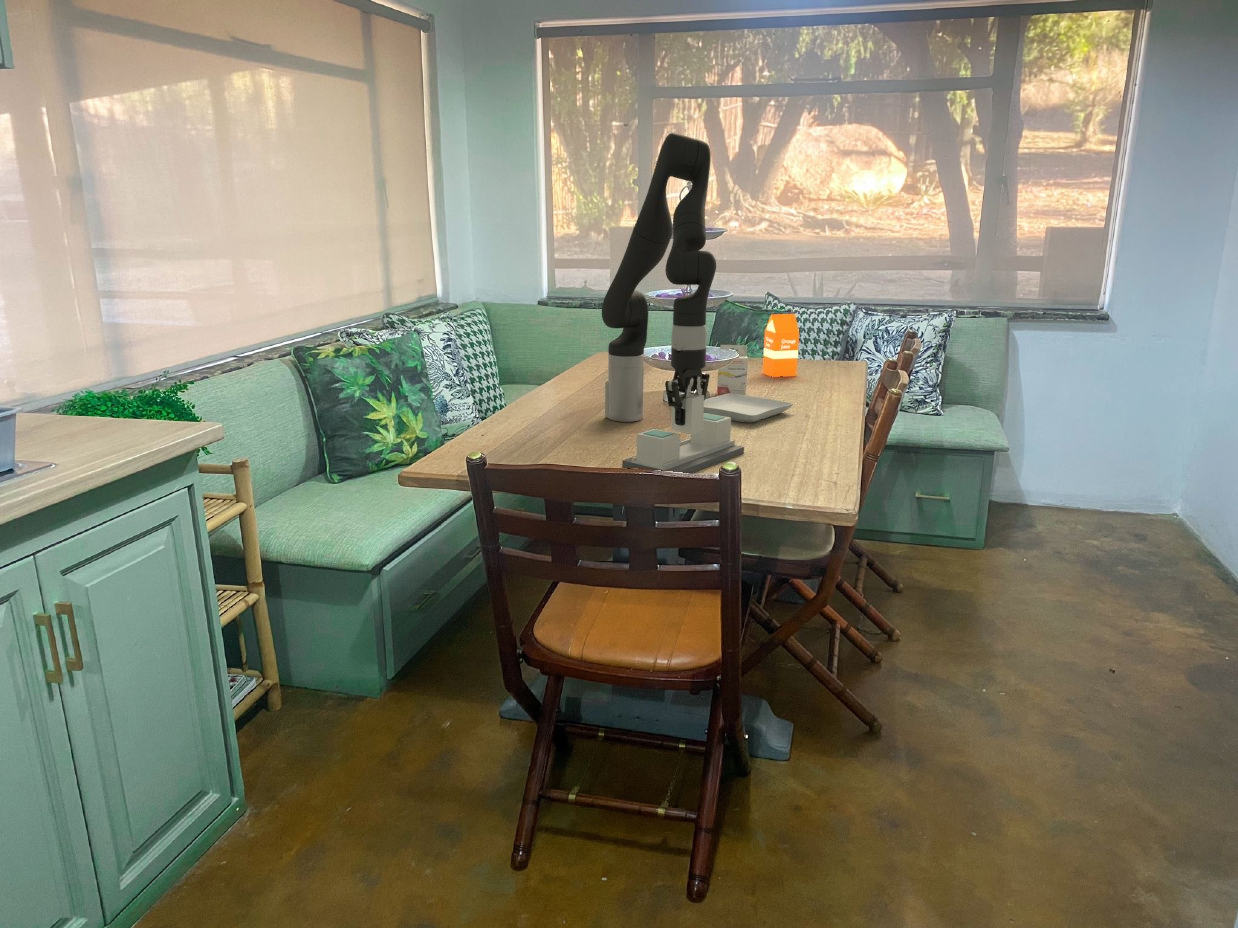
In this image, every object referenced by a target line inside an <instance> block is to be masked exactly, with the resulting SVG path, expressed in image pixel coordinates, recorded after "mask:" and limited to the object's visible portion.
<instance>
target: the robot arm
mask: <svg viewBox="0 0 1238 928" xmlns="http://www.w3.org/2000/svg"><path fill="white" fill-rule="evenodd" d="M711 153H712V152H711V147H710V145H709V143H707V142H705V141H703V140H701V139H698V138H694V137H690V136H688V135H685V134H680V133H676V132H671V133H669V134H668V135H667V136H666V137H665V139H664V140H663V142H662V145H661V147H660V150H659V153H658V156H657V159H656V163H655V167H654V169H653V173H652V177H651V180H650V183H649V186H648V190H647V193H646V196H645V199H644V202H643V203H642V206H641V210H640V212H639V215H638V216H637V220H636V221H635V224H634V227H633V229H632V231H631V235H630V238H629V241H628V243H627V246H626V249H625V251H624V254H623V258H622V260H621V262H620V265H619V267H618V270H617V272H616V274H615V276H614V277H613V280H612V282H611V284H610V286H609V288H608V290H607V291H606V293H605V296H604V299H603V301H602V305H601V319H602V321H603V324H604V325H605V326H606V327H607V328H609V329H610V328H611V329H622V332H621V333H620V334H619V336H618V337H616V338H615V339H613V340H611V341H610V342H609V343H608V349H607V350H608V354H607V355H608V358H607V359H608V360H607V361H608V365H607V366H608V367H607V368H608V372H607V373H608V376H607V379H608V380H607V381H605V385H604V396H605V397H604V413H605V414H604V417H605V418H607V419H609V420H610V421H614V422H622V423H623V422H624V423H628V422H629V423H631V422H638V421H641V420H643V418H644V417H643V416H644V360H645V358H644V355H645V354H644V353H645V347H646V344H647V342H648V341H647V339H648V328H649V327H648V325H649V304H648V300H647V297H646V296H645V294H644V293H643V292H642V291H639V290H636V288H637V286H638V285H639V284H640V283H641V282H642V281H643V279H645V277H646V276H647V275H649V273H650V272H651V271H652V270H653V269H654V268H655V267H656V266H657V265H659V263H660V262H661V261H662V259H663V258H664V256H665V254H666V252H667V249H668V247H669V244H670V241H671V240H672V244H671V249H670V251H669V254H668V257H667V260H666V264H665V276H666V278H667V280H668V281H669V282H670V283H671V284H672V285H677V286H681V285H682V286H684V285H685V286H698V287H697V288H696V290H695V291H694V292H693V293H689V294H687V295H681V296H677V297H676V298H675V299H674V301H673V306H672V307H673V309H672V311H673V312H672V314H673V315H672V331H671V342H670V343H671V345H670V346H671V347H670V349H671V353H670V357H671V358H670V366H671V367H672V368H673V369H674V374H673V379H670V380H666V381H665V382H664V383H665V384H664V385H665V386H664V387H665V392H666V398H667V404H668V406H669V407H671V406H672V407H674V408H675V424H676V425H680V426H683V425H685V406H686V399H687V398H689V396H690V394H696V395H704V400H705V399H707V393H708V387H709V382H710V374H709V373H705V372H704V373H703V371H702V369H704V368H705V367H706V366H707V361H706V360H707V325H706V324H707V323H706V322H707V303H708V298H709V293H710V290H711V286H712V283H713V281H714V278H715V275H716V271H717V260H716V257H715V256H714V254H713V253H712V252H711V251H708V250H702V249H703V248H704V247H705V245H706V242H707V241H706V240H707V233H706V232H707V230H706V203H707V202H706V201H707V196H708V188H709V181H710V171H711V162H712V160H711V159H712V154H711ZM670 178H675V179H679V180H681V181H682V180H683V181H685V182H690V183H691V189H689V191H688V193H687V194H685V195H684V197H683V198H682V199H681V200H680V201H679V202H678V204H677V206H676V207H675V209H674V212H673V216H671V212H670V208H669V205H668V198H667V187H668V182H669V179H670ZM679 393H685V394H679ZM680 397H681V398H682V401H681V403H680ZM673 398H674V401H673Z"/></svg>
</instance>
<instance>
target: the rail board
mask: <svg viewBox="0 0 1238 928" xmlns="http://www.w3.org/2000/svg"><path fill="white" fill-rule="evenodd" d="M731 427H732V420H731V418H730V417H725V416H719V415H714V414H708V413H705V414H704V415H703V431H701V432H698V433H695V434H692V435H691V434H690V437H689V438H687V439H683V440H681V433H678V432H677V433H676V432H673V431H668V430H667V431H666V430H661V429H656V428H653V429H648V430H647V431H646V430H645V431H643V432H639V433H636V455H635V456H632V457H629V458H625V459H623V460H622V462H621V463H622V466H621V467H622V468H624V469H628V468H638V469H650V470H661V471H673V472H683V473H691V474H693V473H695V472H699V471H701V470H703V469H706V468H709V467H711V466H714V465H716V464H720V463H722V462H725V461H727V460H729V459H732V458H734V457H738V456H740V455H742V454H744V453H745V446H743V445H737V444H735V442H736V440H735V439H731V432H732V431H731V430H732V429H731Z"/></svg>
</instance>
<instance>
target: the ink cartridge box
mask: <svg viewBox="0 0 1238 928" xmlns="http://www.w3.org/2000/svg"><path fill="white" fill-rule="evenodd" d="M720 349H726V350H729V351H730V350H732V349H735V350H733V351H734V352H737V353H738V354H739V358H736V360H734V361H733V362H732V363H731V364H729V365H728V366H726V367H724V368H722V369H719V370H718V369H717V389H716V393H717V394H716V396H720V395H724V394H728V393H731V394H739V395H746V396H747V382H748V381H747V379H748V362H749V361H748V358H749V357H748V353H747V352H748V346H747V344H746V345H741V344H740V345H738V344H720V346H719V350H720Z"/></svg>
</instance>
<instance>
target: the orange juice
mask: <svg viewBox="0 0 1238 928" xmlns="http://www.w3.org/2000/svg"><path fill="white" fill-rule="evenodd" d="M797 321H798V320H797V318H796V314H795V313H782V314H781V313H780V314H771V315H770V317H769V320H768V322H767V325H766V328H765V329H764V341H763V342H764V344H763V362H762V363H763V364H762V374H765V376H766V375H767V376H769V377H771V376H772V378H781V377H780V376H783V377H796V376H797V373H798V372H797V371H798V358H799V343H800V341H799V339H800V331H799V327H798V322H797Z"/></svg>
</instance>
